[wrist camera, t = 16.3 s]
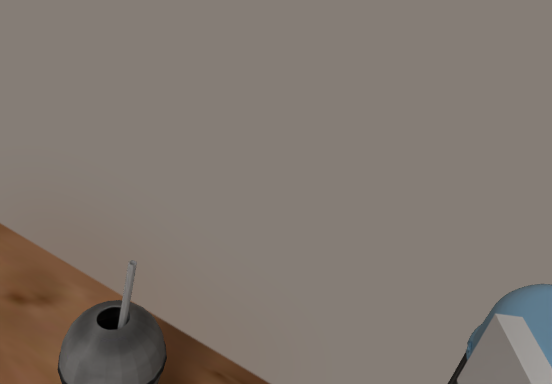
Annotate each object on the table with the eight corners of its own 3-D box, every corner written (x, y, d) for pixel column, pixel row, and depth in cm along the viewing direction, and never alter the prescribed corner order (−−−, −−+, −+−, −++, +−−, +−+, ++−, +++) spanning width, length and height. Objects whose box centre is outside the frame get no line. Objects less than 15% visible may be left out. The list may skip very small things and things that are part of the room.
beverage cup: (64, 420, 41) (43, 237, 30) (150, 397, 44) (158, 223, 34) (72, 508, 36) (51, 322, 25) (169, 474, 39) (187, 296, 28)
